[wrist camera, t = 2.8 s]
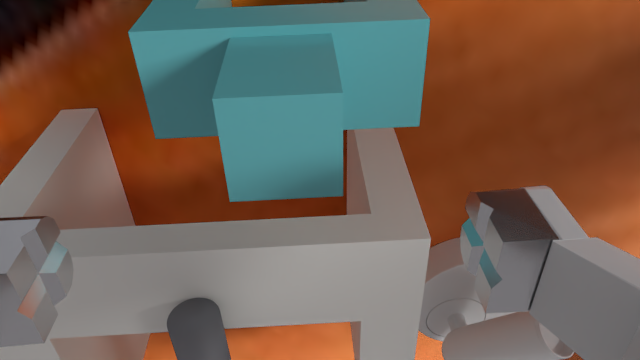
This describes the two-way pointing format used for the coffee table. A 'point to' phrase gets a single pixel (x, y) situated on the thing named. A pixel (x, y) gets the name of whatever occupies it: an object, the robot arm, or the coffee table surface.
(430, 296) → the wall hook
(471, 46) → the coffee table surface
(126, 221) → the shelf
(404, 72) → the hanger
